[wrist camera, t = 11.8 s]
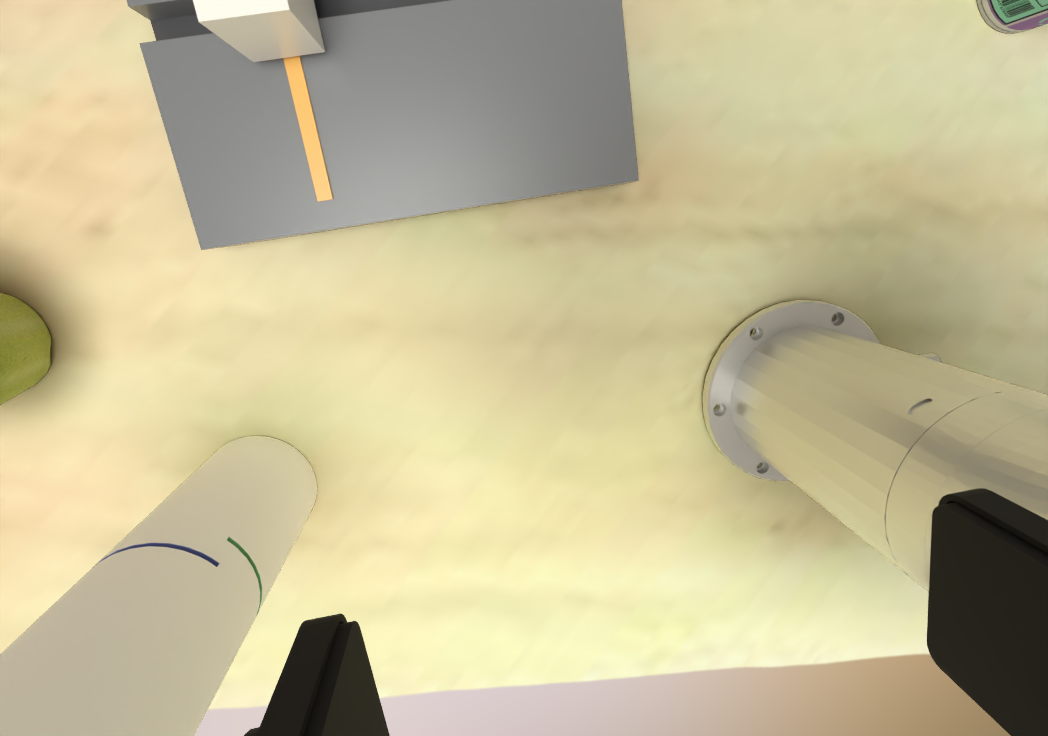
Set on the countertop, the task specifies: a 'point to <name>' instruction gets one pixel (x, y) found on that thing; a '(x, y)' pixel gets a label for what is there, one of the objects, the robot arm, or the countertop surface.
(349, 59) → the fader console
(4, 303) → the plant pot
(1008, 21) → the spray can
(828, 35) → the countertop surface
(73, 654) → the cylindrical container
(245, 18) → the cap
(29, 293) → the countertop surface
